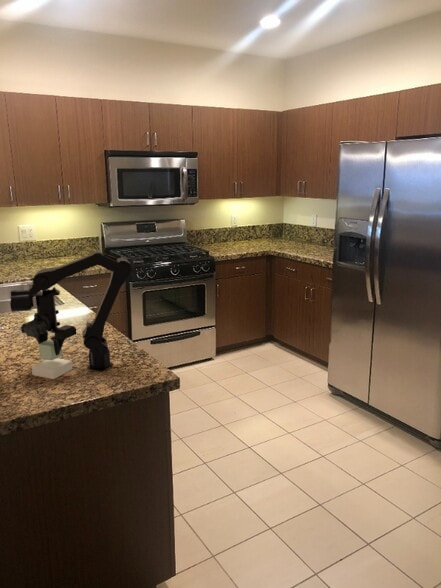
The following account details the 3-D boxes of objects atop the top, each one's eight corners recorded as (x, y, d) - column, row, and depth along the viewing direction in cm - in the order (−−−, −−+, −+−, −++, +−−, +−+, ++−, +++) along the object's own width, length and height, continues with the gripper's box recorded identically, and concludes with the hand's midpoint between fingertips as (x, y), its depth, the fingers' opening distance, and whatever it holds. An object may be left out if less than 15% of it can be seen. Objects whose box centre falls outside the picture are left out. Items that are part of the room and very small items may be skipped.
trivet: (72, 369, 161) (71, 360, 160) (53, 379, 153) (52, 370, 152) (51, 365, 165) (51, 357, 164) (32, 375, 157) (31, 366, 156)
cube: (62, 355, 159) (61, 341, 158) (51, 360, 154) (50, 346, 153) (50, 353, 161) (49, 339, 160) (40, 358, 156) (38, 344, 155)
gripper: (5, 312, 150) (11, 358, 154) (50, 318, 143) (55, 366, 147) (31, 303, 160) (36, 347, 164) (75, 309, 153) (79, 354, 156)
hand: (51, 353), depth 157 cm, fingers closed on cube, 5 cm apart
